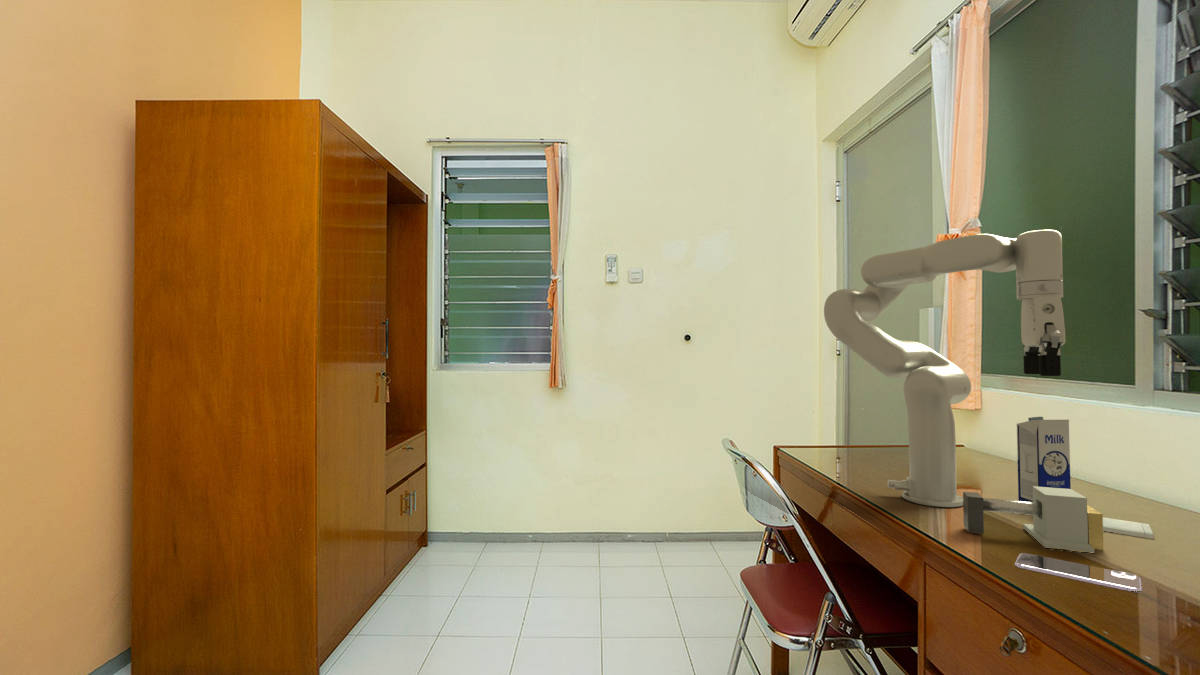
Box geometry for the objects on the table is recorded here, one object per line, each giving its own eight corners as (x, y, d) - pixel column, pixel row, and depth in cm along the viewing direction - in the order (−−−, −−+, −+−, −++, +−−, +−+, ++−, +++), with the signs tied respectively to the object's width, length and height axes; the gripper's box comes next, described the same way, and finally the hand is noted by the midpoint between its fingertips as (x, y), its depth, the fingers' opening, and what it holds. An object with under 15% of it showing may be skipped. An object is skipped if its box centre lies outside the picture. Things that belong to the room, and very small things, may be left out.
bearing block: (1044, 548, 98) (1043, 497, 99) (1023, 528, 110) (1022, 482, 110) (1094, 553, 96) (1093, 501, 96) (1067, 532, 107) (1066, 486, 107)
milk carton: (1040, 508, 123) (1038, 418, 124) (1017, 500, 130) (1015, 415, 131) (1072, 508, 124) (1069, 418, 124) (1047, 500, 130) (1045, 415, 131)
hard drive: (1066, 520, 111) (1153, 533, 103) (1066, 511, 118) (1148, 522, 110) (1066, 528, 111) (1153, 542, 103) (1067, 519, 118) (1149, 531, 110)
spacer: (1089, 549, 98) (1088, 512, 98) (1074, 537, 104) (1073, 503, 104) (1103, 550, 97) (1102, 514, 98) (1088, 539, 103) (1087, 504, 104)
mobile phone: (1019, 550, 96) (1140, 573, 86) (1020, 556, 96) (1140, 580, 86) (1013, 562, 90) (1142, 589, 80) (1013, 568, 90) (1142, 596, 80)
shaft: (968, 532, 106) (967, 496, 106) (963, 526, 110) (963, 491, 110) (1072, 542, 100) (1071, 505, 100) (1063, 536, 104) (1063, 499, 104)
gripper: (1079, 285, 104) (1082, 377, 104) (1046, 294, 120) (1048, 373, 120) (1031, 287, 107) (1033, 376, 107) (1005, 296, 123) (1006, 373, 122)
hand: (1041, 374), depth 113 cm, fingers open, 9 cm apart
